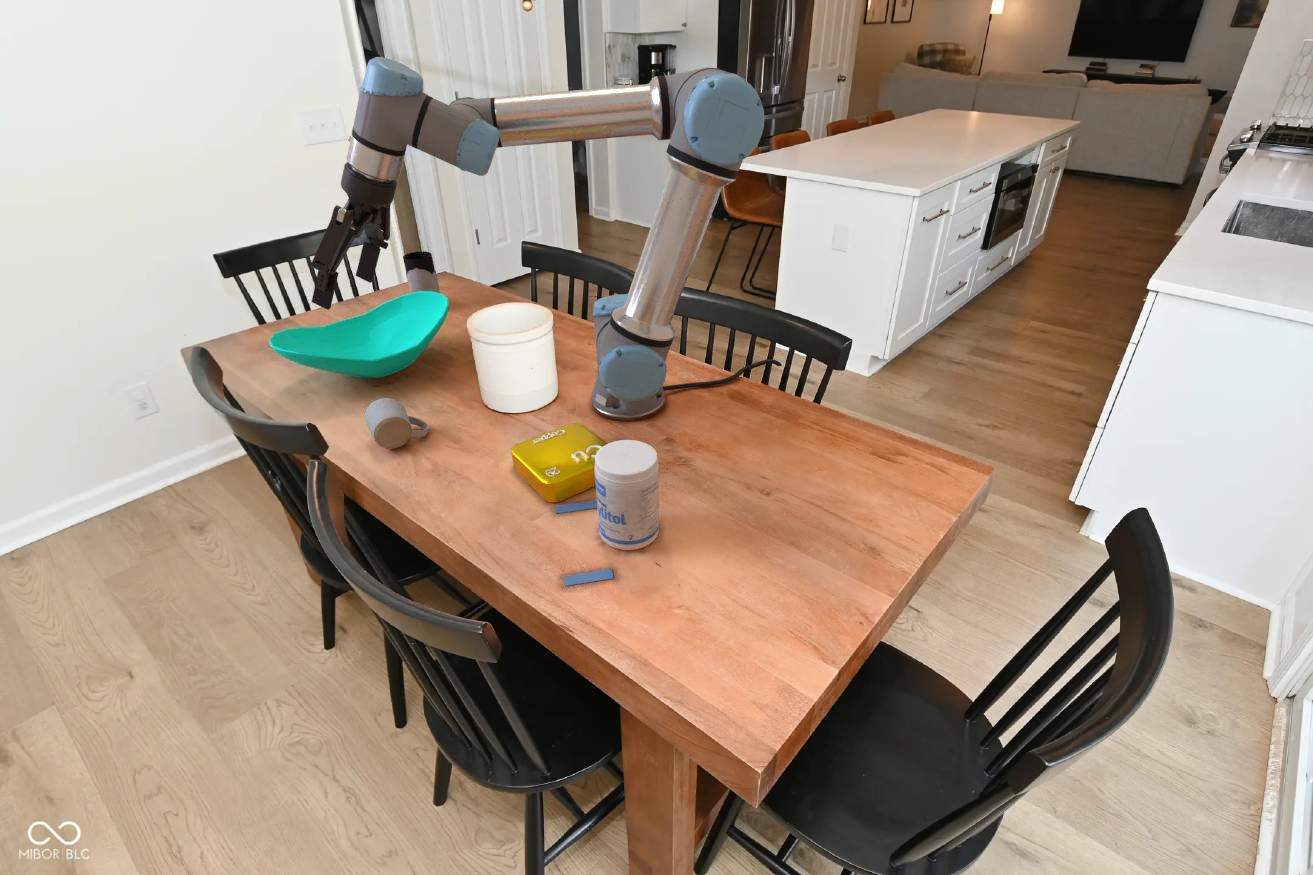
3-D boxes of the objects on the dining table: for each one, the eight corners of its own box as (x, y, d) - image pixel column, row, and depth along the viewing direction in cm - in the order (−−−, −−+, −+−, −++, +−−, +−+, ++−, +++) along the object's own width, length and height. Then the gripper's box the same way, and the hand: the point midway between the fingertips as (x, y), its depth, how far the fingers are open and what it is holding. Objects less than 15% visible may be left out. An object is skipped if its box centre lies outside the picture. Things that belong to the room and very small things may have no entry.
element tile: (580, 438, 132) (578, 417, 129) (624, 474, 121) (622, 451, 119) (510, 466, 124) (506, 444, 122) (550, 506, 114) (547, 483, 111)
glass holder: (409, 315, 187) (396, 261, 179) (420, 296, 199) (409, 245, 191) (441, 313, 188) (430, 259, 180) (450, 295, 200) (440, 244, 192)
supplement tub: (587, 541, 106) (579, 464, 98) (618, 507, 113) (613, 432, 105) (642, 560, 102) (638, 481, 94) (670, 523, 109) (669, 447, 101)
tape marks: (597, 500, 115) (597, 500, 115) (613, 578, 99) (613, 577, 99) (555, 506, 114) (555, 505, 114) (565, 586, 98) (565, 585, 98)
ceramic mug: (378, 456, 128) (368, 421, 124) (369, 436, 134) (360, 402, 130) (434, 440, 133) (427, 406, 128) (423, 422, 139) (416, 388, 134)
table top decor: (316, 424, 139) (296, 366, 131) (268, 381, 155) (248, 327, 148) (483, 361, 162) (474, 308, 155) (426, 329, 179) (415, 280, 171)
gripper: (387, 146, 112) (359, 259, 123) (300, 173, 91) (276, 306, 102) (429, 168, 113) (398, 278, 124) (353, 200, 92) (324, 329, 103)
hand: (343, 291), depth 113 cm, fingers open, 13 cm apart
